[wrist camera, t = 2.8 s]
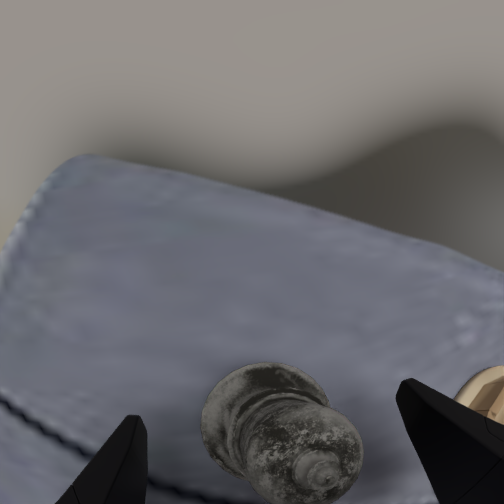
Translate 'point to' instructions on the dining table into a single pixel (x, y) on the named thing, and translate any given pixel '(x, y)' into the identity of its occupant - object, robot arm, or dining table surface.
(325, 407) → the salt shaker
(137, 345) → the dining table surface
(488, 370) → the dish
